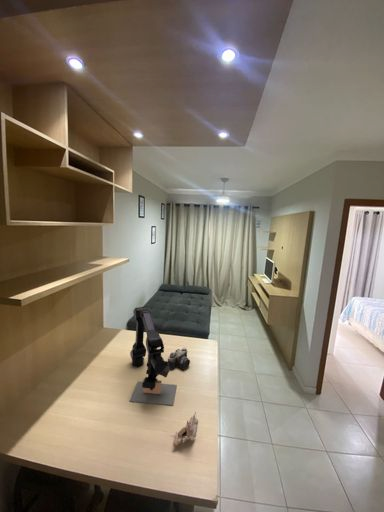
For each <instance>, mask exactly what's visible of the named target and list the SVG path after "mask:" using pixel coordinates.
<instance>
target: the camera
mask: <svg viewBox="0 0 384 512" xmlns="http://www.w3.org/2000/svg"><path fill="white" fill-rule="evenodd" d="M167 362H168V363H169V365H168V366H169V367H170V370H169V371H172V370H174V369H176V368H181V369H184V370H187V369H188V368H189V367H190V364H191V360H190V358H188V349H187V347H183V348H182V349H180V348H177V349H175V351H174V352H170V355H169V356H168V358H167Z"/></svg>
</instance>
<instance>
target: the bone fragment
mask: <svg viewBox="0 0 384 512" xmlns="http://www.w3.org/2000/svg"><path fill="white" fill-rule="evenodd" d="M196 413H197V412H194V415H193V416H191V417H190V420H186V424H185V426H184V427H181V429H180V430H179V431H176V433H175V434H174V438H173V442H172V446H173V447H177V446H179V445H183V444H184V439H186V437H187V438H190V440H191V441H193V440H194V438H195V437H196V434H197V429H198V421H199V420H198V419H197V418H196Z"/></svg>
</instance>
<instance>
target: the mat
mask: <svg viewBox="0 0 384 512" xmlns="http://www.w3.org/2000/svg"><path fill="white" fill-rule="evenodd" d="M142 383H143V381H137V382H136V385H135V387H134V388H133V391H132V393H131V396H130V398H129V403H138V404H148V405H149V404H150V405H159V406H168V407H169V406H172V407H174V402H175V396H176V392H177V388H178V387H177V384H171V383H170V384H169V383H162V384H161V394H154V393H144V392H143V387H142Z"/></svg>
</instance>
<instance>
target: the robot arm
mask: <svg viewBox="0 0 384 512" xmlns="http://www.w3.org/2000/svg"><path fill="white" fill-rule="evenodd" d="M132 314H133V317H134V318H135V320H136V325H135V326H136V328H135V342H134V343H133V345H132V347H131V348H132V349H131V350H130V352H129V355H130V358H131V366H133V368H140V367H144V363H145V357H146V354H147V362H146V367H147V368H146V372H145V373H146V375H147V376H145V377H144V378H143V380H142V382H143V383H142V387H143V388H150V390H153V389H154V388H155V386H156V382H157V380H159V379H158V378H157V377H158V376H162V377H163V378H167V377H168V375H169V373H170V371H171V370H170V367H169V366H168V365H169V363H168V360H165V359H164V358H163V356H162V353H163V354H164V353H165V346H164V341H163V339H162V337H161V336H160V333H159V332H158V331H156V329H155V328H156V327H155V326H154V323H153V322H154V321H153V319H152V316H151V310H150V308H148V307H147V306H140V307H139V306H137V307H135V308H134V309H133V313H132ZM144 332H145V333H144ZM145 334H146V339H145V344H144V335H145Z"/></svg>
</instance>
